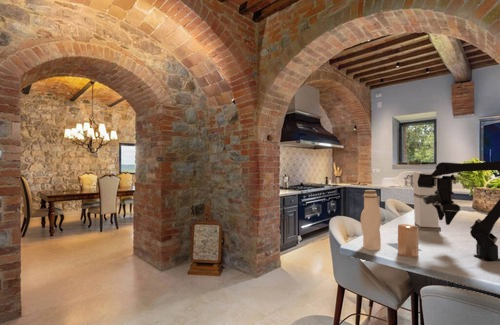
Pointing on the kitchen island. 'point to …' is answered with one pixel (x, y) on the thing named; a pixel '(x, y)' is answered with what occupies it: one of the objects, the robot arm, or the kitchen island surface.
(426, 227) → the tall white column
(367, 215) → the water bottle
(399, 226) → the brown tapered cup
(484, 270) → the kitchen island surface
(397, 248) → the slate mat
